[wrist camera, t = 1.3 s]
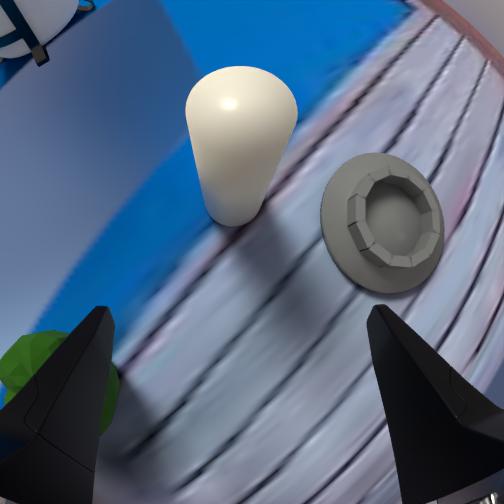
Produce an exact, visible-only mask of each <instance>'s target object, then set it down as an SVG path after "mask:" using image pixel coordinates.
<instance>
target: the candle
mask: <svg viewBox="0 0 504 504" xmlns="http://www.w3.org/2000/svg"><path fill="white" fill-rule="evenodd" d="M297 114H298V113H297V105H296V101H295V98H294V96H293V94H292V92H291V91H290V89H289V88H288V87H287V86H286V85H285V84H284V83H283V82H282V81H281V80H280V79H279V78H277V77H276V76H274V75H273V74H271V73H269V72H267V71H264V70H261V69H258V68H254V67H247V66H233V67H227V68H223V69H219V70H217V71H214V72H212V73H210V74H208V75H207V76H205V77H204V78H202V79H201V80H200V81H199V82H198V83H197V84H196V85H195V86H194V88H193V89H192V91H191V92H190V94H189V96H188V99H187V102H186V118H187V124H188V128H189V133H190V138H191V143H192V148H193V152H194V157H195V162H196V167H197V171H198V176H199V180H200V185H201V189H202V194H203V198H204V203H205V207H206V210H207V212H208V214H209V215H210V216H211V217H212V218H213V219H214V220H215V221H216V222H218V223H220V224H222V225H225V226H230V227H236V226H241V225H244V224H246V223H248V222H250V221H251V220H252V219H253V218H254V217H255V216H256V215H257V213H258V211H259V209H260V207H261V205H262V202H263V200H264V197H265V195H266V193H267V190H268V188H269V186H270V183H271V181H272V179H273V176H274V174H275V172H276V169H277V167H278V165H279V162H280V160H281V158H282V155H283V153H284V151H285V148H286V146H287V144H288V141H289V139H290V137H291V134H292V132H293V130H294V127H295V125H296V121H297Z"/></svg>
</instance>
